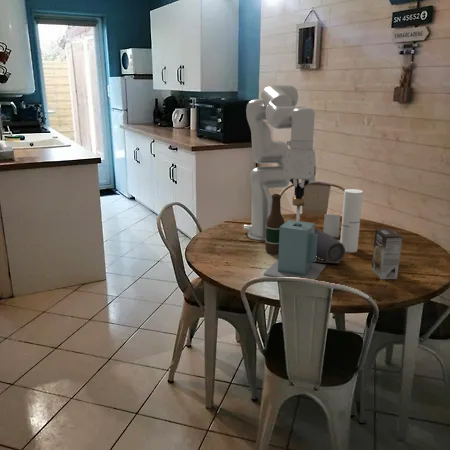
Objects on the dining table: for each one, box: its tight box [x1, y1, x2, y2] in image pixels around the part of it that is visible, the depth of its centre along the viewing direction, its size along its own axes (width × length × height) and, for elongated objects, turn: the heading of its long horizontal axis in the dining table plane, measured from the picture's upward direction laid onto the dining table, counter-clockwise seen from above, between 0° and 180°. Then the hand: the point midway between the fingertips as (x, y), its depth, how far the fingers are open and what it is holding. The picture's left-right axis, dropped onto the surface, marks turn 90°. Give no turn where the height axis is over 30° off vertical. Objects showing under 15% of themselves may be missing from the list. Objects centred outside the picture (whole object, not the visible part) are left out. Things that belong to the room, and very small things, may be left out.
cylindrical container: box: [339, 188, 364, 253], centre depth 189 cm, size 7×7×25 cm
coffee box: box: [371, 228, 403, 280], centre depth 165 cm, size 9×6×16 cm
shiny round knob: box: [292, 196, 306, 227], centre depth 164 cm, size 7×7×16 cm
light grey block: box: [322, 213, 341, 238], centre depth 208 cm, size 4×7×10 cm, turn 79°
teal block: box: [263, 219, 326, 280], centre depth 168 cm, size 18×18×18 cm
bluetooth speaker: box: [314, 228, 346, 264], centre depth 183 cm, size 23×9×10 cm, turn 20°
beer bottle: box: [264, 193, 286, 255], centre depth 186 cm, size 8×8×24 cm
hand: (299, 197), depth 162 cm, fingers closed
